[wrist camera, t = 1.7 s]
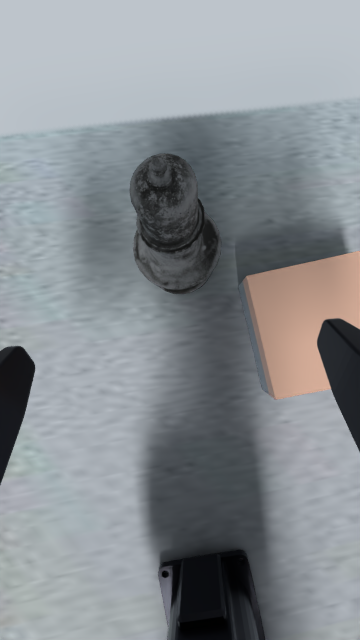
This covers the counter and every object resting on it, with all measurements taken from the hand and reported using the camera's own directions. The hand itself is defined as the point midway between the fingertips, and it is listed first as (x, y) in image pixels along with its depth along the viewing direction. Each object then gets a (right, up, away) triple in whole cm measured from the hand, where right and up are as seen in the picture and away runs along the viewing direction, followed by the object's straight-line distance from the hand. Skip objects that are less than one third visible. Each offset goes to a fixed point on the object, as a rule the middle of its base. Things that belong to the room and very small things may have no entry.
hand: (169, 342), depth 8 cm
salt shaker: (0, +5, +13) cm, 14 cm away
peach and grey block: (+10, 0, +12) cm, 15 cm away
